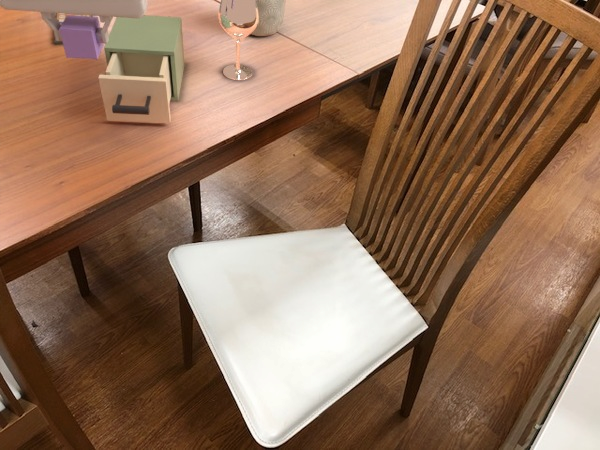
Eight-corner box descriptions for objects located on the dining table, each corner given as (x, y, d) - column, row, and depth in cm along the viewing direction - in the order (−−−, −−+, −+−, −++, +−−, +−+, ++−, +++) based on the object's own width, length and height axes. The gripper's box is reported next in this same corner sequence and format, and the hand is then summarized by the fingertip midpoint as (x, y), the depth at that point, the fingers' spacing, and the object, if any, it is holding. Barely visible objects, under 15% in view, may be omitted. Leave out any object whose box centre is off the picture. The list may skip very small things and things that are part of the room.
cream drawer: (167, 139, 91) (162, 96, 85) (101, 136, 90) (91, 93, 84) (177, 85, 104) (173, 44, 98) (119, 82, 103) (112, 41, 96)
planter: (230, 37, 123) (230, -9, 115) (238, 15, 131) (238, -29, 124) (281, 43, 123) (284, -2, 115) (285, 21, 132) (289, -23, 124)
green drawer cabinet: (178, 101, 102) (174, 51, 94) (113, 98, 100) (103, 47, 92) (184, 64, 112) (181, 17, 104) (125, 61, 110) (118, 13, 103)
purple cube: (66, 57, 76) (59, 28, 73) (73, 43, 79) (67, 15, 76) (97, 59, 76) (91, 30, 73) (103, 45, 79) (98, 17, 76)
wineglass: (241, 60, 116) (243, -22, 103) (263, 76, 112) (268, -8, 99) (211, 69, 111) (209, -15, 98) (233, 86, 107) (234, 1, 95)
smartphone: (54, 44, 112) (53, 39, 111) (57, 14, 122) (56, 9, 121) (93, 43, 114) (92, 38, 113) (92, 14, 124) (91, 9, 123)
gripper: (145, -61, 70) (156, 35, 80) (-12, -74, 68) (19, 26, 77) (138, -45, 66) (150, 54, 75) (-30, -59, 63) (5, 46, 73)
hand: (82, 40), depth 76 cm, fingers closed on purple cube, 4 cm apart
